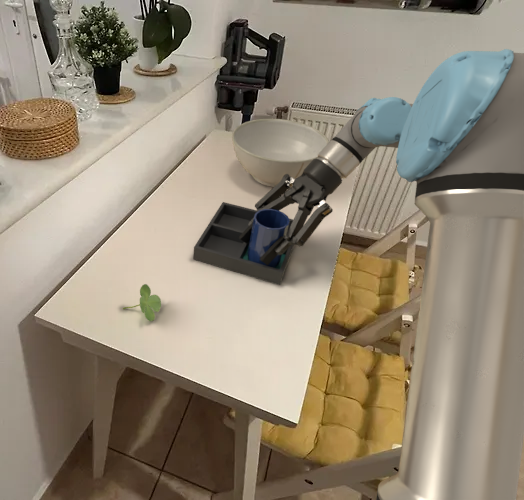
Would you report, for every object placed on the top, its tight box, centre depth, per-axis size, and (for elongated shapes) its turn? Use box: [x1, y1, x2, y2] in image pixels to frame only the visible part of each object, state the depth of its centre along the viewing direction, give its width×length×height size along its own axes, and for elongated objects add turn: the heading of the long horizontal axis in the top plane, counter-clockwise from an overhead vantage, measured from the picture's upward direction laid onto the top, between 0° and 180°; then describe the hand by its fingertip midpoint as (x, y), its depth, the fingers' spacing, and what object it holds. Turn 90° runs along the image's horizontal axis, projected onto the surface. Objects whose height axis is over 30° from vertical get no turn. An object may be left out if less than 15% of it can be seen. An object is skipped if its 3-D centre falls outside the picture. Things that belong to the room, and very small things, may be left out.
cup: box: [248, 209, 290, 268], centre depth 92 cm, size 7×7×11 cm
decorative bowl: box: [231, 118, 330, 188], centre depth 123 cm, size 27×27×12 cm
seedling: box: [122, 283, 162, 322], centre depth 84 cm, size 7×8×7 cm
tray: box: [192, 201, 295, 286], centre depth 100 cm, size 20×20×4 cm
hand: (252, 250), depth 92 cm, fingers closed on cup, 7 cm apart
